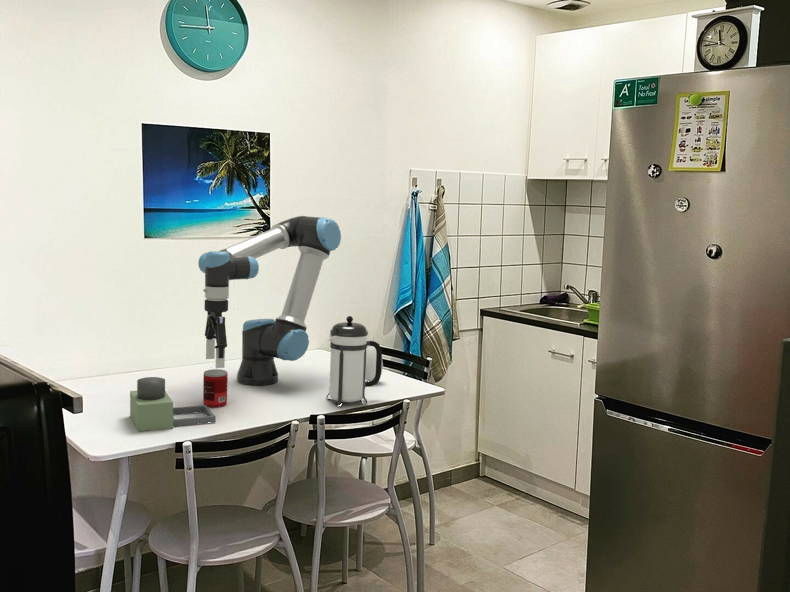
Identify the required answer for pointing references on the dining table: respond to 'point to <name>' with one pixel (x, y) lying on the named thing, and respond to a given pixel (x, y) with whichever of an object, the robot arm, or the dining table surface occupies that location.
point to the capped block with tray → (160, 407)
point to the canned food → (215, 388)
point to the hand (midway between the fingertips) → (214, 363)
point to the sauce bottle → (371, 363)
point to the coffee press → (350, 362)
